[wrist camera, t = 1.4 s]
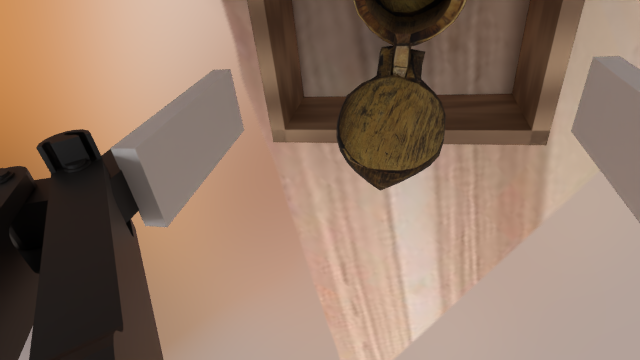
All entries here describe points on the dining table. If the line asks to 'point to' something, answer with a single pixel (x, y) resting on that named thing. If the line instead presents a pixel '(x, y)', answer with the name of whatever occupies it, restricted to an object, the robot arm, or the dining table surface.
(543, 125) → the wooden frame
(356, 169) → the wooden mug
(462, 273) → the dining table surface
